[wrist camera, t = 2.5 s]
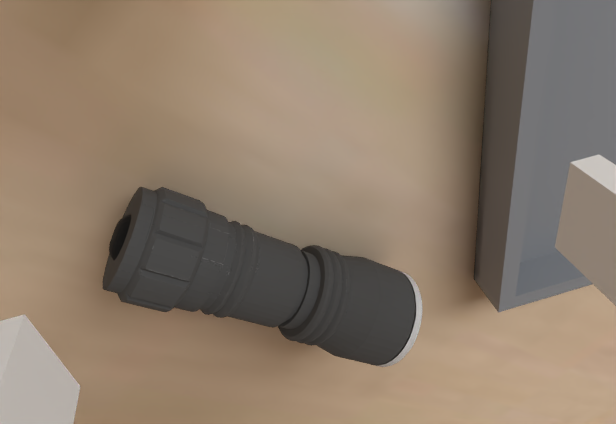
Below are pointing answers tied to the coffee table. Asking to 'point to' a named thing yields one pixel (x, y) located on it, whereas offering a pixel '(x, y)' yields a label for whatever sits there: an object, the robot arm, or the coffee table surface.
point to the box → (540, 138)
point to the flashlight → (259, 280)
